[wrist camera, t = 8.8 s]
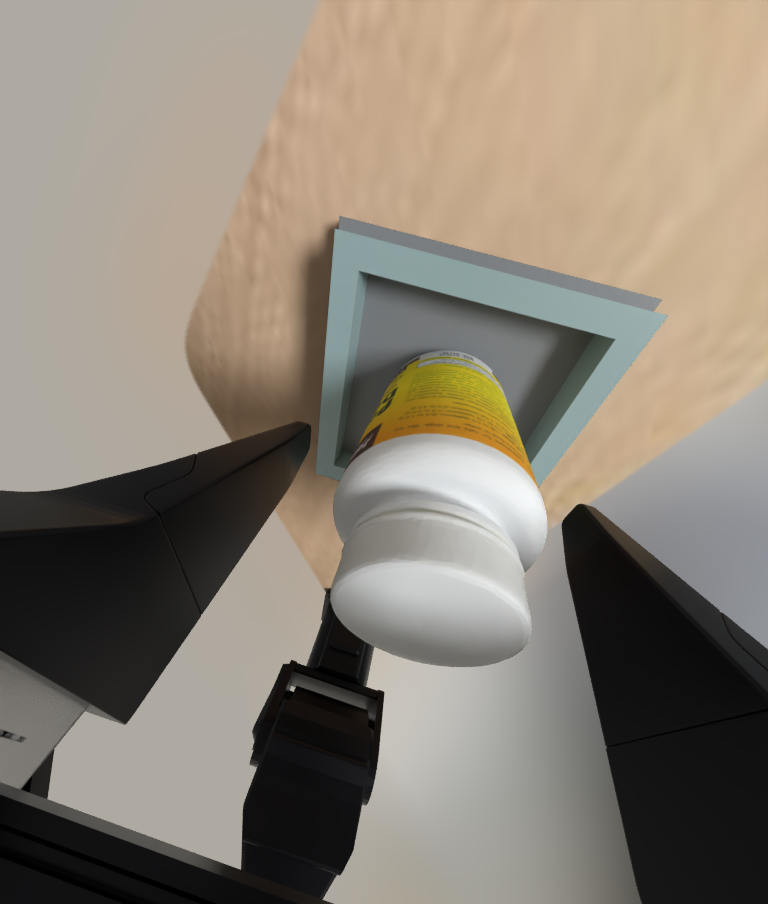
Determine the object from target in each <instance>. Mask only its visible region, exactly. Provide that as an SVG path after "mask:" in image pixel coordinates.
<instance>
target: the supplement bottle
mask: <svg viewBox="0 0 768 904" xmlns="http://www.w3.org/2000/svg"><path fill="white" fill-rule="evenodd" d="M333 514H334V520H335V525H336V529H337V531H338V534H339V536H340V538H341V540H342V542H343V543H344V546H343V549H342V557H341V561H340V564H339V566H338V569H337V572H336V575H335V578H334V581H333V583H332V587H331V592H330V601H331V605H332V608H333V610H334V612H335V614H336V616H337V617H338V619H339V620H340V621H341V623H342V624H343V625H344V626H345V627H346V628H347V629H348V630H350V631H351V632H352V633H353V634H355V635H356V636H357V637H359V638H360V639H362V640H363V641H365V642H367V643H368V644H370V645H372V646H374V647H376V648H379V649H381V650H383V651H386V652H388V653H390V654H393V655H396V656H399V657H402V658H405V659H408V660H412V661H416V662H420V663H425V664H431V665H439V666H449V667H475V666H483V665H489V664H494V663H497V662H500V661H503V660H505V659H508V658H510V657H513V656H514V655H516V654H517V653H519V652H520V651H521V650H522V649H523V648H524V647H525V645H526V644H527V643H528V641H529V639H530V636H531V632H532V625H531V616H530V611H529V606H528V601H527V596H526V591H525V572H526V571H527V570H528V569H529V568H530V567H531V566H532V565H533V564H534V562H535V561H536V560H537V558H538V557H539V555H540V553H541V551H542V549H543V546H544V543H545V540H546V536H547V516H546V510H545V507H544V503H543V499H542V496H541V493H540V490H539V487H538V484H537V482H536V479H535V477H534V474H533V471H532V468H531V465H530V463H529V460H528V457H527V454H526V452H525V449H524V446H523V444H522V441H521V438H520V436H519V433H518V430H517V427H516V424H515V422H514V419H513V417H512V414H511V411H510V408H509V406H508V403H507V400H506V397H505V394H504V391H503V389H502V386H501V384H500V382H499V380H498V378H497V376H496V375H495V373H494V372H493V371H492V370H491V369H490V368H489V367H488V366H487V365H486V364H485V363H483V362H482V361H481V360H479V359H477V358H476V357H474V356H471V355H469V354H466V353H463V352H459V351H451V350H441V351H434V352H429V353H426V354H423V355H420V356H418V357H416V358H414V359H413V360H411V361H409V362H408V363H407V364H405V365H404V366H403V367H402V368H401V369H400V370H399V371H398V372H397V373H396V375H395V376H394V377H393V379H392V381H391V382H390V384H389V386H388V388H387V389H386V391H385V394H384V395H383V397H382V399H381V401H380V403H379V405H378V407H377V409H376V411H375V413H374V415H373V417H372V419H371V421H370V423H369V424H368V427H367V429H366V430H365V432H364V434H363V436H362V438H361V440H360V442H359V444H358V446H357V448H356V450H355V452H354V454H353V456H352V458H351V460H350V461H349V463H348V465H347V467H346V469H345V471H344V473H343V475H342V477H341V479H340V482H339V484H338V487H337V490H336V493H335V496H334V504H333Z"/></svg>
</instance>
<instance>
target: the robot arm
mask: <svg viewBox="0 0 768 904" xmlns="http://www.w3.org/2000/svg"><path fill="white" fill-rule="evenodd" d="M310 439H311V426H310V424H307V423H304V422H300V421H297V422H294V423H291V424H288V425H285V426H281V427H278V428H275V429H272V430H269V431H266V432H262V433H259V434H256V435H253V436H250V437H247V438H243V439H240V440H237V441H234V442H231V443H228V444H225V445H221V446H218V447H215V448H212V449H209V450H205V451H202V452H199V453H198V454H193V455H190V456H187V457H183V458H180V459H176V460H174V461H170V462H167V463H163V464H160V465H156V466H152V467H148V468H145V469H141V470H137V471H133V472H129V473H125V474H121V475H117V476H113V477H109V478H105V479H101V480H97V481H93V482H89V483H85V484H81V485H77V486H73V487H69V488H64V489H57V490H51V491H40V492H15V491H0V904H333V903H330V902H327V901H324V900H322V899H323V898H324V896H325V894H326V892H327V891H328V889H329V887H330V886H331V884H332V882H333V880H334V878H335V877H336V875H341V873H342V872H343V870H344V868H345V866H346V864H347V862H348V860H349V858H350V856H351V854H352V852H353V849H354V844H355V839H356V833H357V828H358V823H359V817H360V812H361V807H362V804H363V805H367V804H368V801H369V799H370V796H371V792H372V789H373V785H374V780H375V775H376V770H377V762H378V755H379V745H380V744H379V743H380V733H381V723H382V712H383V702H384V692H383V691H381V690H378V691H377V690H374V689H371V688H368V687H366V685H367V680H368V675H369V670H370V665H371V660H372V655H373V650H374V646H372V645H370V644H368V643H367V642H365V641H363V640H362V639H360V638H359V637H357V636H356V635H355V634H353V633H352V632H351V631H350V630H348V629H347V628H346V627H345V626H344V625H343V624H342V623H341V621H340V620H339V619H338V617H337V616H336V614H335V612H334V610H333V608H332V605H331V601H330V592H331V590H328V591H327V592H326V595H325V601H324V606H323V612H322V618H321V619H322V624H321V627H320V630H319V632H318V635H317V638H316V641H315V643H314V646H313V649H312V652H311V654H310V657H309V660H308V663H307V666H304V665H301V664H298V663H297V662H296V661H293V660H291V662H290V664H283V666H282V668H281V670H280V673H279V675H278V678H277V680H276V682H275V684H274V687H273V689H272V691H271V693H270V695H269V697H268V699H267V701H266V703H265V705H264V707H263V709H262V711H261V713H260V715H259V717H258V719H257V721H256V723H255V725H254V728H253V731H252V733H253V738H254V745H253V749H252V750H254V751H253V754H252V757H251V760H250V765H252V766H255V767H257V769H256V772H255V775H254V778H253V780H252V783H251V786H250V788H249V791H248V793H247V796H246V799H245V802H244V806H243V826H242V827H243V828H242V861H241V870H240V869H237V868H234V867H231V866H229V865H226V864H223V863H220V862H218V861H215V860H212V859H209V858H206V857H204V856H201V855H198V854H196V853H193V852H190V851H187V850H185V849H182V848H179V847H176V846H174V845H171V844H168V843H166V842H163V841H160V840H157V839H154V838H152V837H149V836H146V835H144V834H141V833H138V832H135V831H133V830H130V829H127V828H124V827H122V826H119V825H116V824H114V823H111V822H108V821H105V820H103V819H100V818H97V817H94V816H92V815H89V814H86V813H83V812H81V811H78V810H75V809H72V808H70V807H67V806H64V805H62V804H58V803H56V802H53V801H51V800H48V799H47V797H48V791H49V783H50V776H51V769H52V761H53V755H54V748H55V747H56V746H57V744H58V743H59V742H60V741H61V739H62V738H63V737H64V736H65V734H66V733H67V732H68V731H69V730H70V728H71V727H72V726H73V725H74V723H75V722H76V721H77V720H78V719H79V717H80V716H81V715H82V714H83V712H84V711H86V712H89V713H92V714H95V715H98V716H100V717H104V718H106V719H109V720H112V721H115V722H118V723H121V724H124V725H125V724H126V723H127V722H128V721H129V720H130V718H131V717H132V716H133V714H134V713H135V712H136V710H137V708H138V707H139V706H140V704H141V703H142V701H143V700H144V698H145V697H146V695H147V694H148V693H149V691H150V690H151V688H152V687H153V685H154V684H155V682H156V681H157V680H158V678H159V676H160V675H161V674H162V672H163V671H164V669H165V668H166V666H167V665H168V663H169V662H170V661H171V659H172V658H173V656H174V655H175V653H176V652H177V650H178V649H179V648H180V646H181V644H182V643H183V642H184V640H185V639H186V637H187V636H188V634H189V633H190V632H191V630H192V628H193V627H194V626H195V624H196V623H197V621H198V620H199V618H200V617H201V614H203V612H204V611H205V609H206V608H207V606H208V605H209V603H210V602H211V601H212V599H213V598H214V596H215V595H216V593H217V592H218V590H219V589H220V587H221V586H222V585H223V583H224V582H225V580H226V579H227V577H228V576H229V574H230V573H231V572H232V570H233V569H234V567H235V566H236V564H237V563H238V561H239V560H240V558H241V557H242V556H243V554H244V553H245V551H246V550H247V548H248V547H249V545H250V544H251V542H252V541H253V539H254V538H255V537H256V535H257V534H258V532H259V531H260V529H261V528H262V526H263V525H264V523H265V522H266V521H267V519H268V517H269V516H270V515H271V513H272V512H273V510H274V509H275V508H276V506H277V505H278V503H279V502H280V500H281V499H282V497H283V496H284V494H285V493H286V492H287V490H288V488H289V487H290V485H291V483H292V482H293V480H294V478H295V476H296V474H297V472H298V470H299V468H300V466H301V464H302V462H303V460H304V459H305V457H306V455H307V453H308V451H309V448H310ZM562 535H563V544H564V553H565V561H566V569H567V575H568V580H569V584H570V589H571V593H572V598H573V602H574V607H575V611H576V616H577V620H578V624H579V629H580V633H581V638H582V642H583V647H584V651H585V656H586V660H587V664H588V669H589V674H590V678H591V683H592V687H593V691H594V696H595V701H596V705H597V710H598V714H599V719H600V723H601V728H602V732H603V736H604V741H605V745H606V747H607V748H606V751H607V756H608V760H609V765H610V769H611V774H612V778H613V783H614V787H615V792H616V796H617V801H618V805H619V809H620V814H621V819H622V823H623V828H624V832H625V837H626V841H627V846H628V850H629V855H630V859H631V863H632V868H633V873H634V877H635V882H636V886H637V890H638V893H639V896H640V900H641V903H642V904H768V649H767V648H765V647H764V646H763V645H762V644H760V643H759V642H758V641H757V640H755V639H754V638H753V637H752V636H751V635H749V634H748V633H746V632H745V631H744V630H743V629H741V627H739V626H738V625H737V624H736V623H735V622H733V621H732V620H731V619H730V618H728V617H727V616H726V615H725V614H723V613H721V612H720V611H719V609H717V608H716V607H715V606H714V605H713V604H711V603H710V602H709V601H708V600H706V599H705V598H704V597H703V596H701V595H700V594H699V593H698V592H697V591H696V590H694V589H693V588H692V587H691V586H689V585H688V584H687V583H686V582H685V581H683V580H682V579H681V578H680V577H678V576H677V575H676V574H675V573H674V572H672V571H671V570H670V569H669V568H668V567H666V566H665V565H664V564H663V563H661V562H660V561H659V560H658V559H657V558H655V557H654V556H653V555H652V554H651V553H649V552H648V551H647V550H646V549H644V548H643V547H642V546H641V545H640V544H638V543H637V542H636V541H635V540H633V539H632V538H631V537H630V536H629V535H627V534H626V533H625V532H624V531H622V530H621V529H620V528H619V527H618V526H616V525H615V524H614V523H613V522H612V521H610V520H609V519H608V518H607V517H605V516H604V515H603V514H602V513H600V512H599V511H598V510H597V509H596V508H594V507H592V506H588V505H585V504H578V505H576V506H575V507H574V509H573V510H572V511H571V512H570V513H569V514H568V515H567V516H566V517H565V518H564V520H563V522H562ZM291 686H294V687H296V688H295V690H294V692H292V691H290V688H291Z"/></svg>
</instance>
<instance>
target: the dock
mask: <svg viewBox="0 0 768 904" xmlns="http://www.w3.org/2000/svg"><path fill="white" fill-rule="evenodd" d="M661 301H662V299H658V298H654V297H650V296H646V295H643V294H639V293H635V292H631V291H627V290H623V289H619V288H616V287H612V286H608V285H604V284H600V283H596V282H592V281H589V280H585V279H581V278H577V277H573V276H569V275H565V274H562V273H558V272H554V271H550V270H546V269H542V268H538V267H535V266H531V265H527V264H523V263H519V262H515V261H511V260H508V259H504V258H500V257H496V256H492V255H488V254H484V253H481V252H477V251H473V250H469V249H465V248H461V247H457V246H454V245H450V244H446V243H442V242H438V241H434V240H430V239H427V238H423V237H419V236H415V235H411V234H407V233H403V232H400V231H396V230H392V229H388V228H384V227H380V226H376V225H373V224H369V223H365V222H361V221H357V220H353V219H349V218H346V217H342V216H339V228H338V229H335V234H334V246H333V259H332V271H331V284H330V296H329V309H328V321H327V334H326V346H325V359H324V371H323V384H322V396H321V409H320V421H319V434H318V446H317V459H316V471H315V474H318V475H322V476H325V477H328V478H332V479H335V480H338V481H340V479H341V477H342V475H343V473H344V471H345V469H346V467H347V465H348V463H349V461H350V460H351V458H352V456H353V454H354V452H355V450H356V448H357V446H358V444H359V442H360V440H361V438H362V436H363V434H364V432H365V430H366V429H367V427H368V424H369V423H370V421H371V419H372V417H373V415H374V413H375V411H376V409H377V407H378V405H379V403H380V401H381V399H382V397H383V395H384V394H385V391H386V389H387V388H388V386H389V384H390V382H391V381H392V379H393V377H394V376H395V375H396V373H397V372H398V371H399V370H400V369H401V368H402V367H403V366H404V365H405V364H407V363H408V362H409V361H411V360H413V359H414V358H416V357H418V356H420V355H423V354H426V353H429V352H434V351H441V350H451V351H459V352H463V353H466V354H469V355H471V356H474V357H476V358H477V359H479V360H481V361H482V362H483V363H485V364H486V365H487V366H488V367H489V368H490V369H491V370H492V371H493V372H494V373H495V375H496V376H497V378H498V380H499V382H500V384H501V386H502V389H503V391H504V394H505V397H506V400H507V403H508V406H509V408H510V411H511V414H512V417H513V419H514V422H515V424H516V427H517V430H518V433H519V436H520V438H521V441H522V444H523V446H524V449H525V452H526V454H527V457H528V460H529V463H530V465H531V468H532V471H533V474H534V477H535V479H536V482H537V484H538V487H540V485H541V484H542V483H543V481H544V480H545V479H546V477H547V476H548V475H549V473H550V472H551V471H552V469H553V468H554V467H555V465H556V464H557V463H558V461H559V460H560V459H561V457H562V456H563V455H564V453H565V452H566V451H567V449H568V448H569V447H570V445H571V444H572V443H573V441H574V440H575V439H576V437H577V436H578V435H579V433H580V432H581V431H582V429H583V428H584V427H585V425H586V424H587V423H588V421H589V420H590V419H591V418H592V416H593V415H594V414H595V412H596V411H597V410H598V408H599V407H600V406H601V404H602V403H603V402H604V400H605V399H606V398H607V396H608V395H609V394H610V392H611V391H612V390H613V388H614V387H615V386H616V384H617V383H618V382H619V380H620V379H621V378H622V376H623V375H624V374H625V372H626V371H627V370H628V368H629V367H630V366H631V364H632V363H633V362H634V360H635V359H636V358H637V356H638V355H639V354H640V352H641V351H642V350H643V348H644V347H645V346H646V345H647V343H648V342H649V341H650V339H651V338H652V337H653V335H654V334H655V333H656V331H657V330H658V329H659V327H660V326H661V325H662V323H663V322H664V321H665V319H666V318H667V317H668V315H664V314H660V313H656V312H654V310H655V309H656V308H657V306H658V305H659V303H660V302H661Z"/></svg>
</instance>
